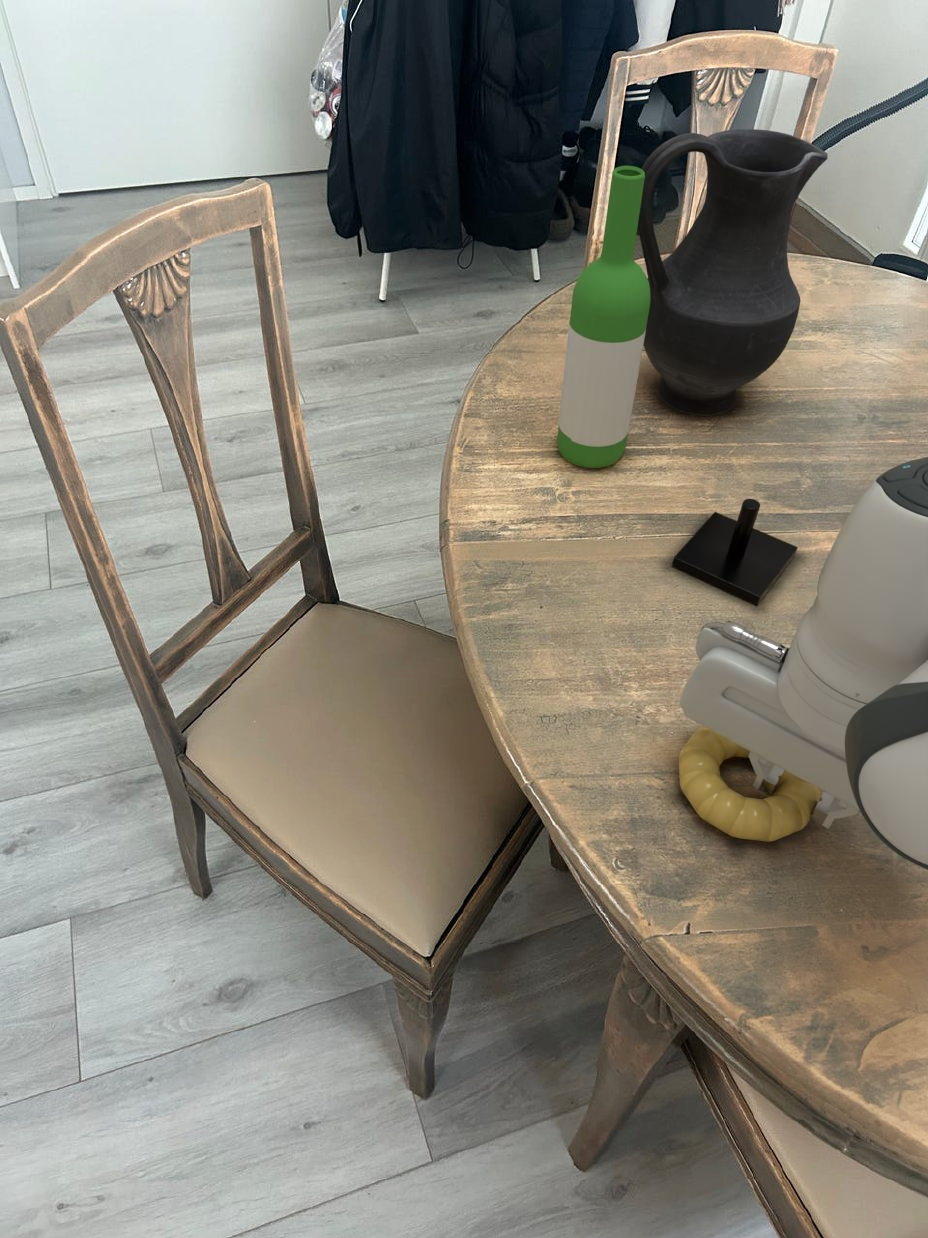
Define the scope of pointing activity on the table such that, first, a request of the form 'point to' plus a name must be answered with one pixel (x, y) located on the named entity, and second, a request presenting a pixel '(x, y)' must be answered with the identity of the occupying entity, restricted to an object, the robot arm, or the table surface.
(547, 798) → the table surface
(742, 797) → the ring doughnut
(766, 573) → the post
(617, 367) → the bottle
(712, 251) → the pitcher
